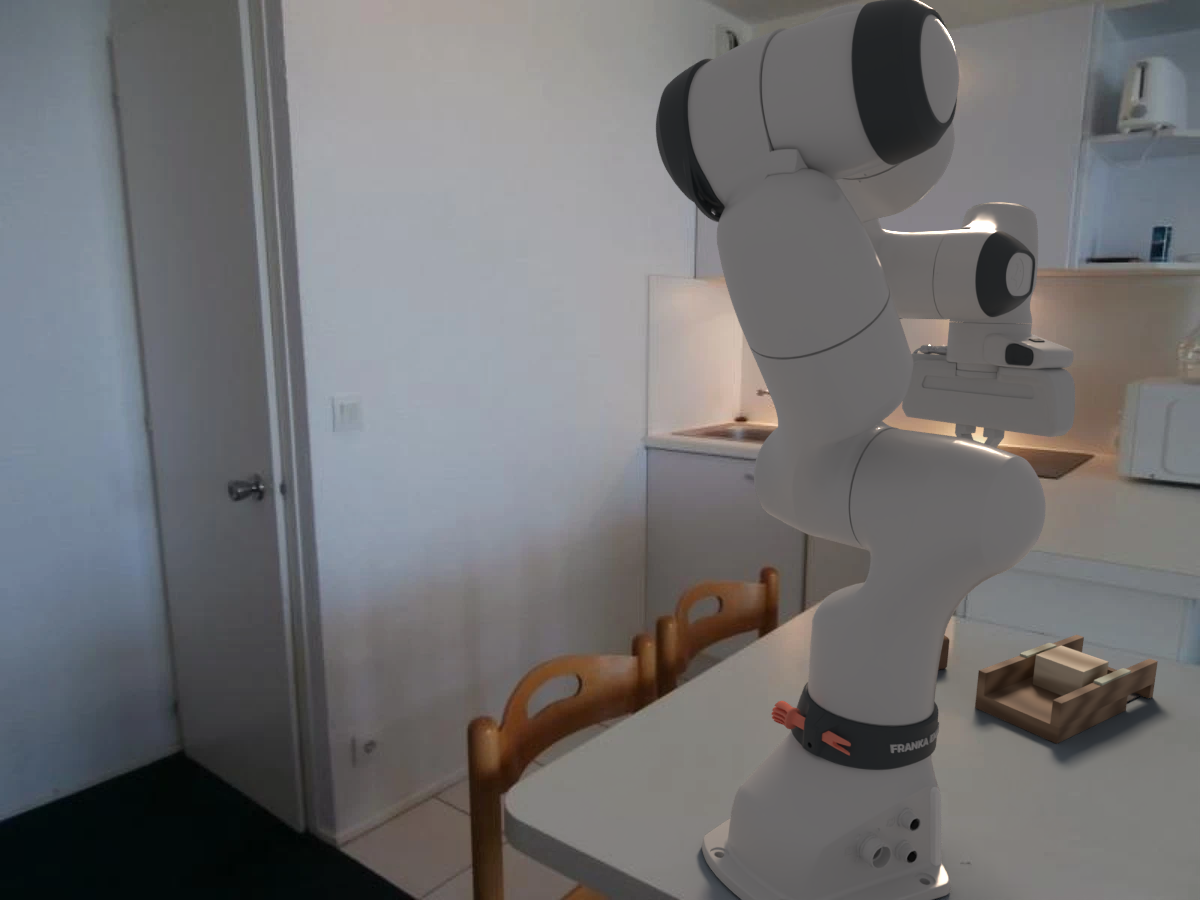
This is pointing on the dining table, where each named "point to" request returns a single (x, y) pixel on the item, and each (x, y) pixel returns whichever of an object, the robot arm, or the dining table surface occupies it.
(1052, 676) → the birch block
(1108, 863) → the dining table surface
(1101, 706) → the walled channel
